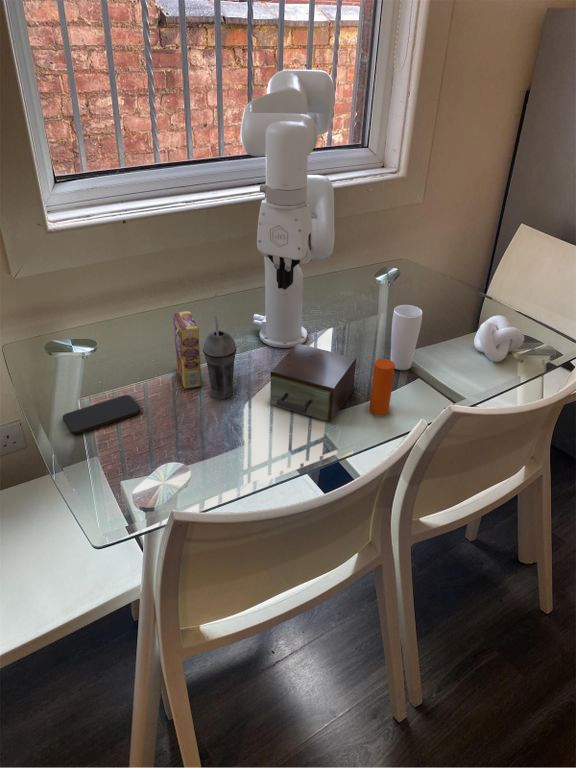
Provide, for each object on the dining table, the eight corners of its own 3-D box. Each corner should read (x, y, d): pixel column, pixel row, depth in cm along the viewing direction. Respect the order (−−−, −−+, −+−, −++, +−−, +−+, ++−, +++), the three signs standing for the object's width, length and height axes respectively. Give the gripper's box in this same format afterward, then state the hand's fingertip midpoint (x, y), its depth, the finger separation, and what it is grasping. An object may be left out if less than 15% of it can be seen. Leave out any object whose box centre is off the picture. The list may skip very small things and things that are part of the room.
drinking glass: (414, 374, 145) (422, 319, 136) (385, 371, 146) (392, 315, 138) (414, 360, 150) (423, 306, 142) (387, 357, 151) (394, 303, 143)
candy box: (203, 386, 139) (199, 328, 131) (184, 389, 138) (179, 331, 129) (194, 366, 146) (190, 310, 138) (177, 369, 145) (171, 312, 136)
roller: (366, 412, 132) (371, 366, 125) (372, 402, 135) (378, 356, 128) (385, 417, 130) (391, 371, 124) (390, 407, 133) (397, 361, 127)
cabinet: (331, 421, 129) (333, 388, 124) (270, 403, 134) (270, 371, 129) (353, 389, 139) (356, 358, 134) (296, 374, 144) (296, 343, 139)
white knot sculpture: (459, 344, 157) (465, 314, 152) (498, 338, 160) (505, 308, 155) (483, 366, 148) (491, 335, 143) (524, 359, 151) (533, 328, 146)
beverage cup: (243, 387, 139) (240, 309, 128) (230, 405, 133) (226, 325, 122) (214, 381, 141) (209, 304, 130) (200, 398, 135) (194, 319, 124)
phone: (141, 410, 130) (71, 433, 122) (142, 413, 130) (72, 436, 123) (128, 393, 135) (60, 414, 127) (129, 396, 135) (61, 418, 128)
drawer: (319, 431, 124) (320, 405, 121) (261, 414, 129) (261, 388, 125) (347, 391, 137) (350, 365, 133) (294, 376, 142) (295, 351, 138)
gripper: (240, 194, 111) (243, 286, 121) (315, 206, 106) (311, 301, 116) (259, 184, 116) (260, 273, 127) (331, 195, 111) (326, 286, 121)
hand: (284, 286), depth 121 cm, fingers closed
